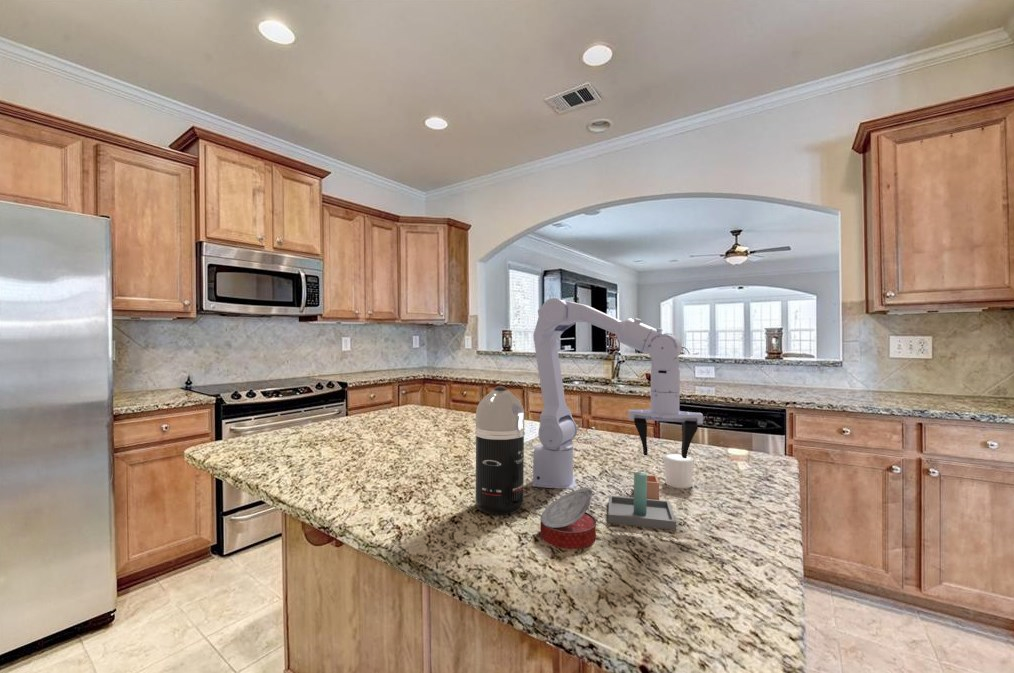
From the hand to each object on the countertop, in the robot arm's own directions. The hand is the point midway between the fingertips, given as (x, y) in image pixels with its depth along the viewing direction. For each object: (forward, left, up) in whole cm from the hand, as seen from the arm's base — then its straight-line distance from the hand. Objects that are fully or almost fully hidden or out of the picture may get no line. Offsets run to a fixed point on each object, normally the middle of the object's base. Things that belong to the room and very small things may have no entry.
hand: (664, 455), depth 91 cm
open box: (-3, +4, -10) cm, 12 cm away
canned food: (-18, -19, -11) cm, 28 cm away
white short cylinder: (+5, +13, -11) cm, 18 cm away
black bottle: (-33, -10, -11) cm, 36 cm away
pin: (-5, -8, -9) cm, 13 cm away
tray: (-5, -8, -10) cm, 14 cm away
